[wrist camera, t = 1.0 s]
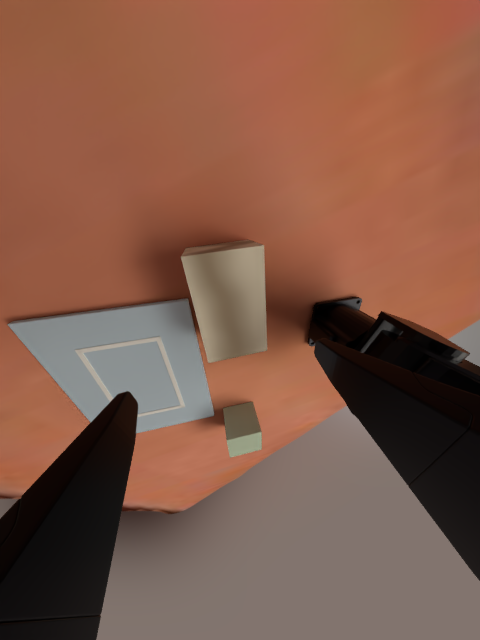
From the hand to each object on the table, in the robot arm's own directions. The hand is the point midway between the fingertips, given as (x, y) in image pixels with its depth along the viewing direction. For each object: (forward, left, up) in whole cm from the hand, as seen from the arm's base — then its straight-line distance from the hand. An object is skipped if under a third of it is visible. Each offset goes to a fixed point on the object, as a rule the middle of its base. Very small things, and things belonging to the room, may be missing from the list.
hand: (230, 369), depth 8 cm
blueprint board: (+11, +11, -12) cm, 19 cm away
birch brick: (-1, +1, -12) cm, 12 cm away
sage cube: (-1, +23, -12) cm, 26 cm away
